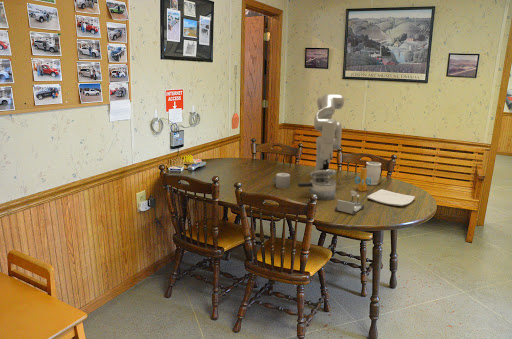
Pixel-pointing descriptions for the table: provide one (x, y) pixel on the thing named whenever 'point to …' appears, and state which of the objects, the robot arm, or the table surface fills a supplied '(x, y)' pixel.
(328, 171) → the lid
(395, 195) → the plate
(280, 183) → the toilet tissue
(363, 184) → the orange blue upright piece
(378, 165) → the jar
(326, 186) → the pot
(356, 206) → the toy car
